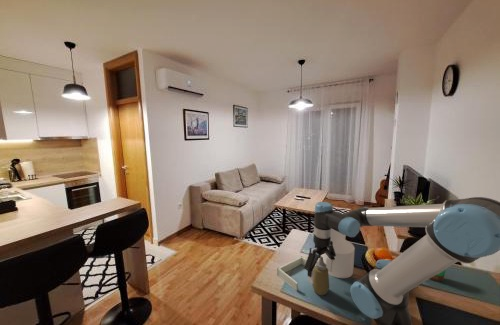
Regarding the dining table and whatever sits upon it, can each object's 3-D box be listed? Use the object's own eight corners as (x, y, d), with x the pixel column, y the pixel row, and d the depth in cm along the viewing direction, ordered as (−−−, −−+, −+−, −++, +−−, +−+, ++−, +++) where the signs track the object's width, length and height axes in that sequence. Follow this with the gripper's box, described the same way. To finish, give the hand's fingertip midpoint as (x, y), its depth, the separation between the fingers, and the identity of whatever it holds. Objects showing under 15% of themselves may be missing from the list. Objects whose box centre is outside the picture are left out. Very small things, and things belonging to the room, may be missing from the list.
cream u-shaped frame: (321, 275, 111) (321, 268, 110) (296, 291, 101) (296, 283, 100) (301, 262, 123) (301, 256, 122) (277, 275, 112) (277, 268, 112)
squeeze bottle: (330, 298, 96) (332, 263, 93) (312, 296, 97) (313, 261, 95) (327, 286, 104) (328, 252, 101) (310, 284, 105) (311, 251, 103)
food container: (420, 279, 107) (422, 261, 106) (416, 271, 113) (418, 254, 111) (451, 286, 102) (454, 267, 101) (446, 278, 108) (448, 260, 106)
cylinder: (314, 266, 119) (315, 220, 115) (330, 254, 129) (332, 212, 125) (342, 283, 105) (345, 231, 101) (359, 269, 116) (362, 221, 112)
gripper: (331, 225, 106) (329, 262, 110) (297, 239, 92) (295, 282, 96) (345, 230, 100) (342, 270, 103) (310, 247, 86) (308, 292, 90)
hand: (320, 276), depth 100 cm, fingers open, 13 cm apart
